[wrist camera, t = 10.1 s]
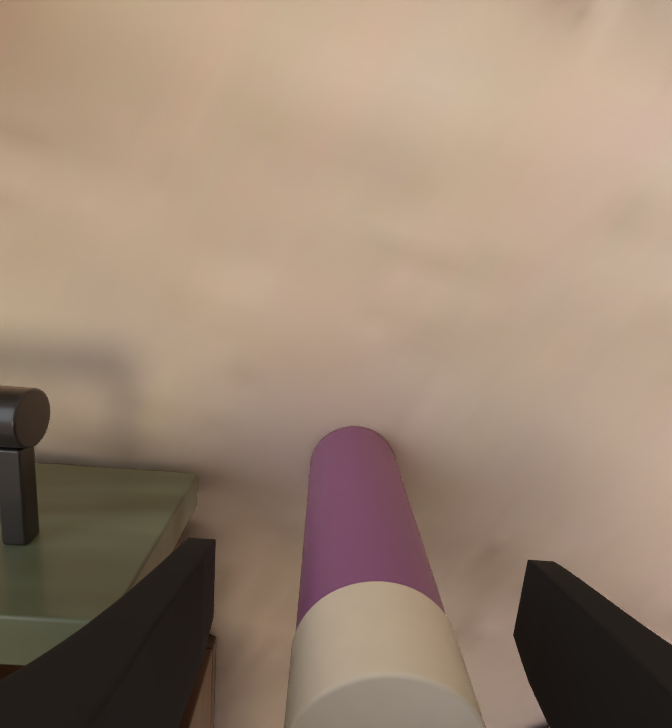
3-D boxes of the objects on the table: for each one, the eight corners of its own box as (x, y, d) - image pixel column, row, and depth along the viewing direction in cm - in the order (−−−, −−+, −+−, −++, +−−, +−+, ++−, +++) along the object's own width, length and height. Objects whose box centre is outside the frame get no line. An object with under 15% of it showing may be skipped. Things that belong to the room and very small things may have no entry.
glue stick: (410, 484, 17) (521, 798, 7) (332, 518, 17) (336, 864, 7) (374, 410, 16) (443, 643, 7) (293, 446, 17) (244, 723, 7)
